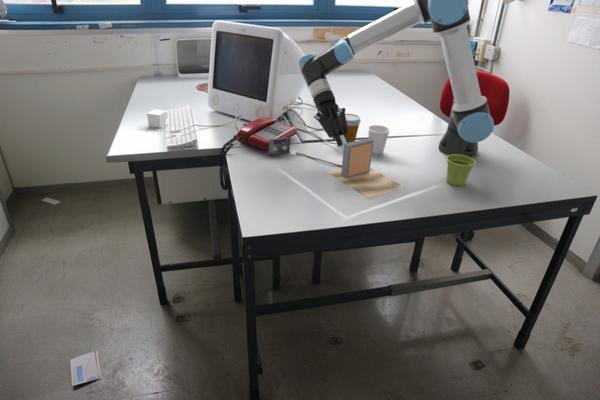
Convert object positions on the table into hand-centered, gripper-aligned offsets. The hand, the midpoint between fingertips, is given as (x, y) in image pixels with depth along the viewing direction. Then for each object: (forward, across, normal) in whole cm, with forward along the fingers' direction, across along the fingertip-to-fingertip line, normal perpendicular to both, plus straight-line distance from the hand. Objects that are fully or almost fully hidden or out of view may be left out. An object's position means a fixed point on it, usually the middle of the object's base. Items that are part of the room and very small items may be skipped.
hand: (347, 153), depth 145 cm
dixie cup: (0, -21, -9) cm, 23 cm away
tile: (+8, 0, 0) cm, 8 cm away
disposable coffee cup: (-8, -15, -18) cm, 25 cm away
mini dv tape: (-13, +13, -22) cm, 29 cm away
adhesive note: (-49, +44, -59) cm, 89 cm away
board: (+12, 0, +3) cm, 12 cm away
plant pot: (+24, -28, +14) cm, 39 cm away
